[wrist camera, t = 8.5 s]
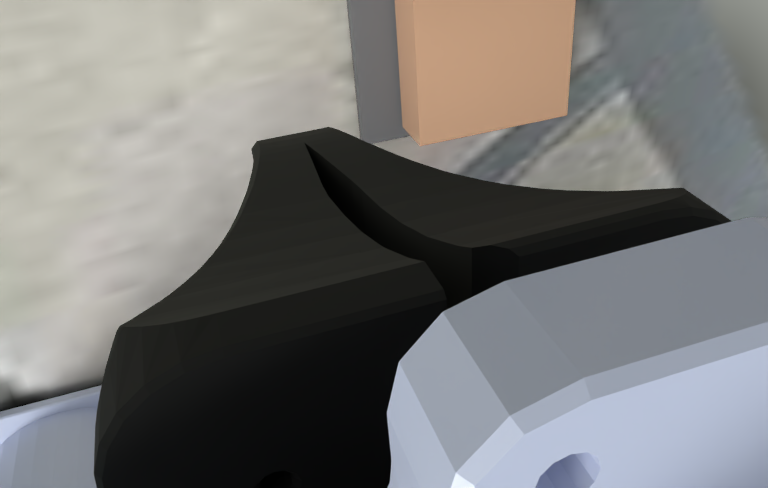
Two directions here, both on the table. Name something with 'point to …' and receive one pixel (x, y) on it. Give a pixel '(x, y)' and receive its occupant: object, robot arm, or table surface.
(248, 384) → the robot arm
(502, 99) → the tile
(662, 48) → the table surface
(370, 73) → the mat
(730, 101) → the table surface
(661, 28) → the table surface
